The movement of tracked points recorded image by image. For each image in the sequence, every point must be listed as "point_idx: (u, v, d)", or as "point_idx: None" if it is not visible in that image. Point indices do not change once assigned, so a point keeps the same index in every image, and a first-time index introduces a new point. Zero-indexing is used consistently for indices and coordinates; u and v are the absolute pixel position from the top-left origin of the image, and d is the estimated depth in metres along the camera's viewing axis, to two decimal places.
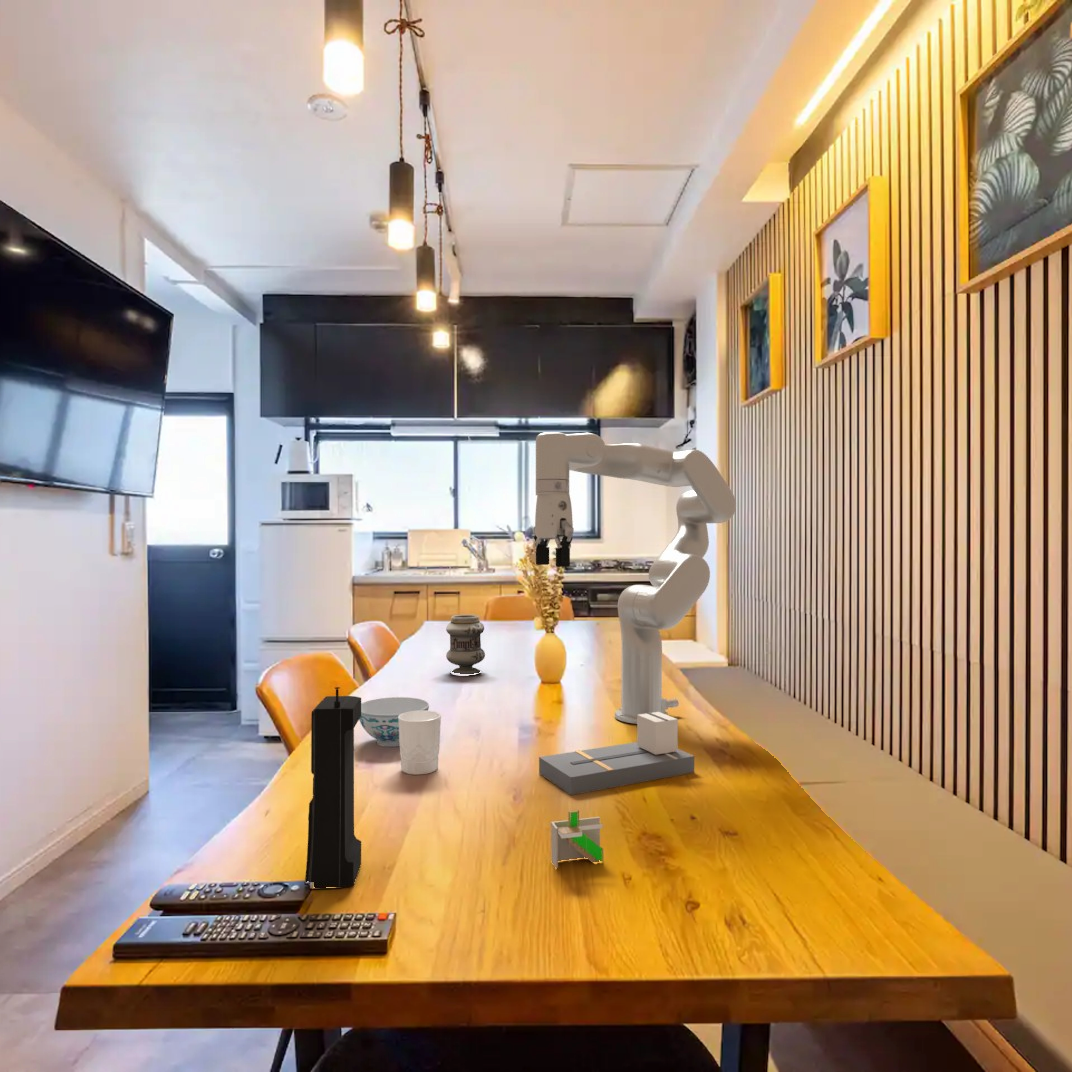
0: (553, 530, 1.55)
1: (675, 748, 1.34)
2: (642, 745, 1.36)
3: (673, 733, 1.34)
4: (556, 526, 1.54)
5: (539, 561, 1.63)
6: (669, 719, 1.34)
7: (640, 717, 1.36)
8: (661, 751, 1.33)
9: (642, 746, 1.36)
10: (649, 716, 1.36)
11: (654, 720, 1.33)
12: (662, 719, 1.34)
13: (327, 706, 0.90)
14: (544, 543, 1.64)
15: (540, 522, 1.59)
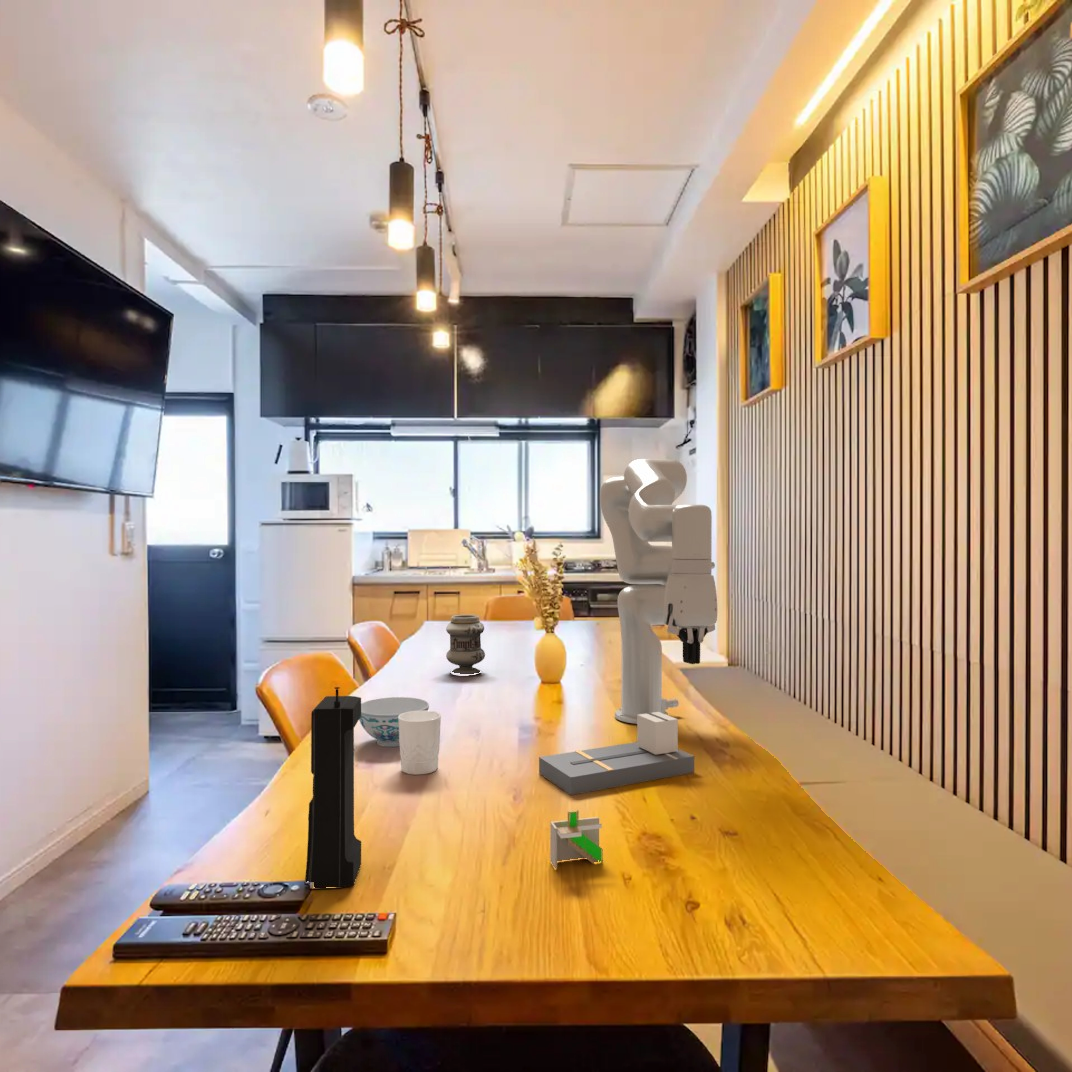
0: (716, 616, 1.39)
1: (675, 748, 1.34)
2: (642, 745, 1.36)
3: (673, 733, 1.34)
4: None
5: None
6: (669, 719, 1.34)
7: (640, 717, 1.36)
8: (661, 751, 1.33)
9: (642, 746, 1.36)
10: (649, 716, 1.36)
11: (654, 720, 1.33)
12: (662, 719, 1.34)
13: (327, 706, 0.90)
14: None
15: (694, 608, 1.36)
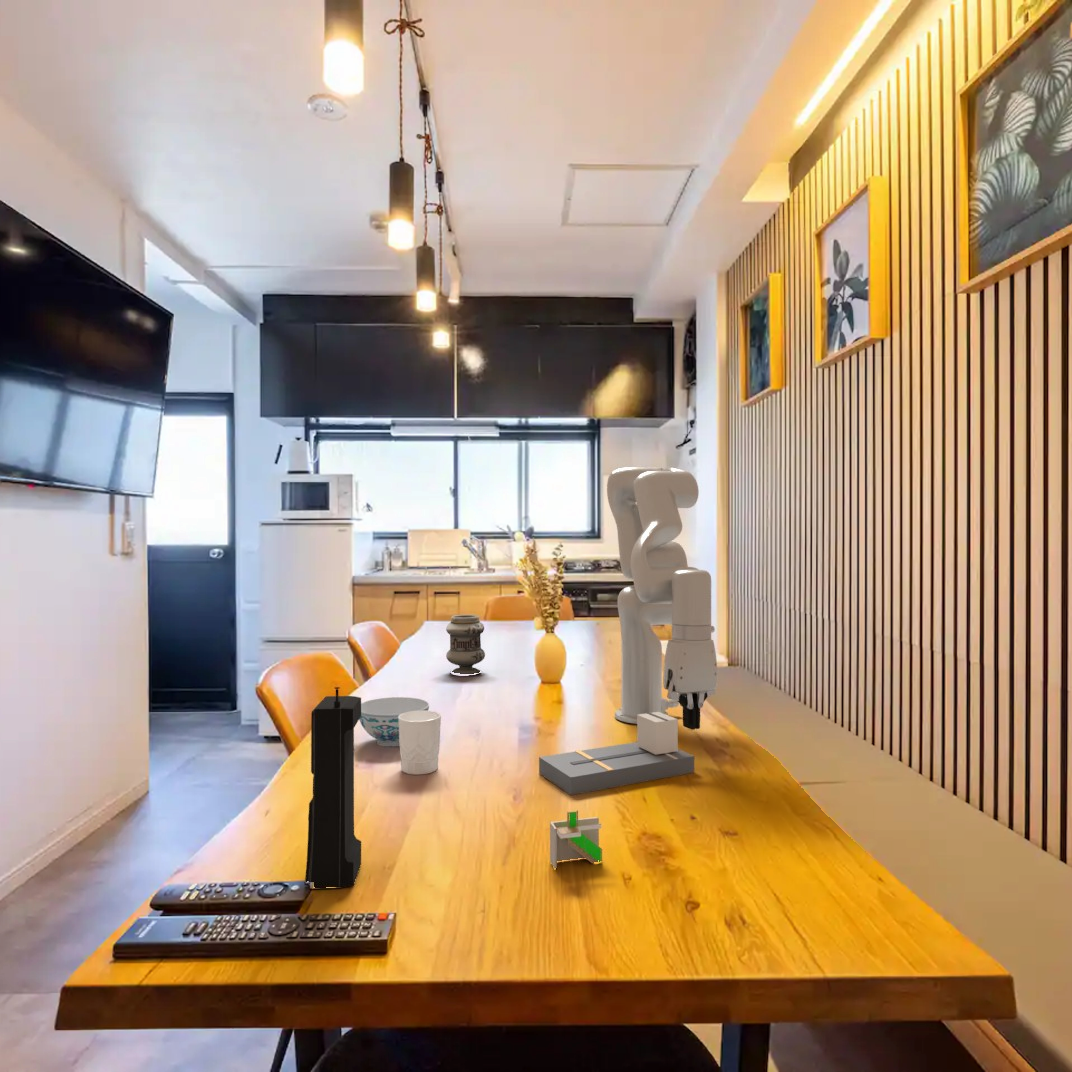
0: (716, 680, 1.39)
1: (675, 748, 1.34)
2: (642, 745, 1.36)
3: (673, 733, 1.34)
4: None
5: None
6: (669, 719, 1.34)
7: (640, 717, 1.36)
8: (661, 751, 1.33)
9: (642, 746, 1.36)
10: (649, 716, 1.36)
11: (654, 720, 1.33)
12: (662, 719, 1.34)
13: (327, 706, 0.90)
14: None
15: (694, 674, 1.37)
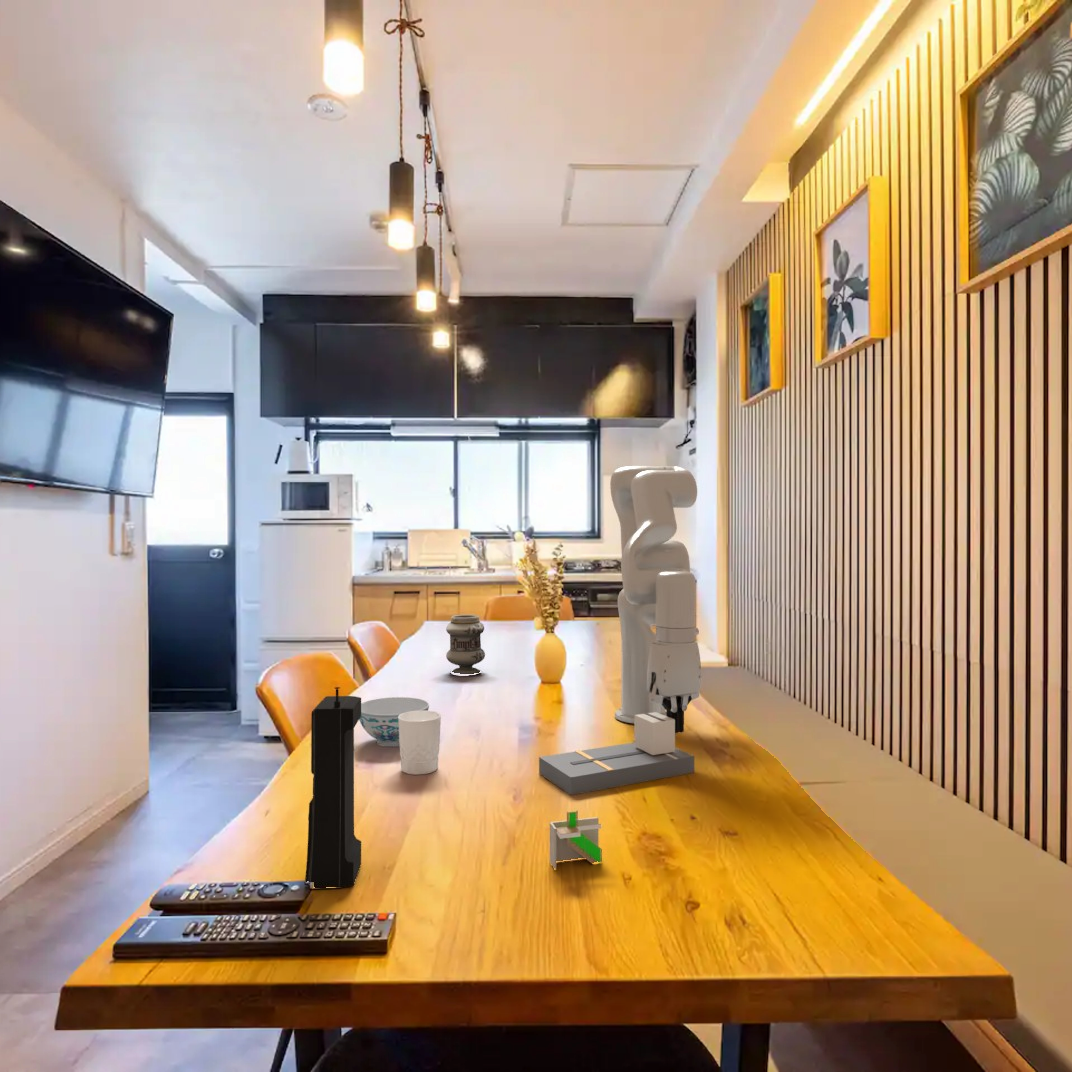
0: (700, 683, 1.38)
1: (672, 748, 1.34)
2: (639, 745, 1.36)
3: (670, 733, 1.34)
4: None
5: None
6: (666, 719, 1.34)
7: (637, 717, 1.36)
8: (658, 751, 1.32)
9: (639, 746, 1.36)
10: (646, 716, 1.36)
11: (651, 720, 1.33)
12: (659, 719, 1.33)
13: (327, 706, 0.90)
14: None
15: (678, 677, 1.35)
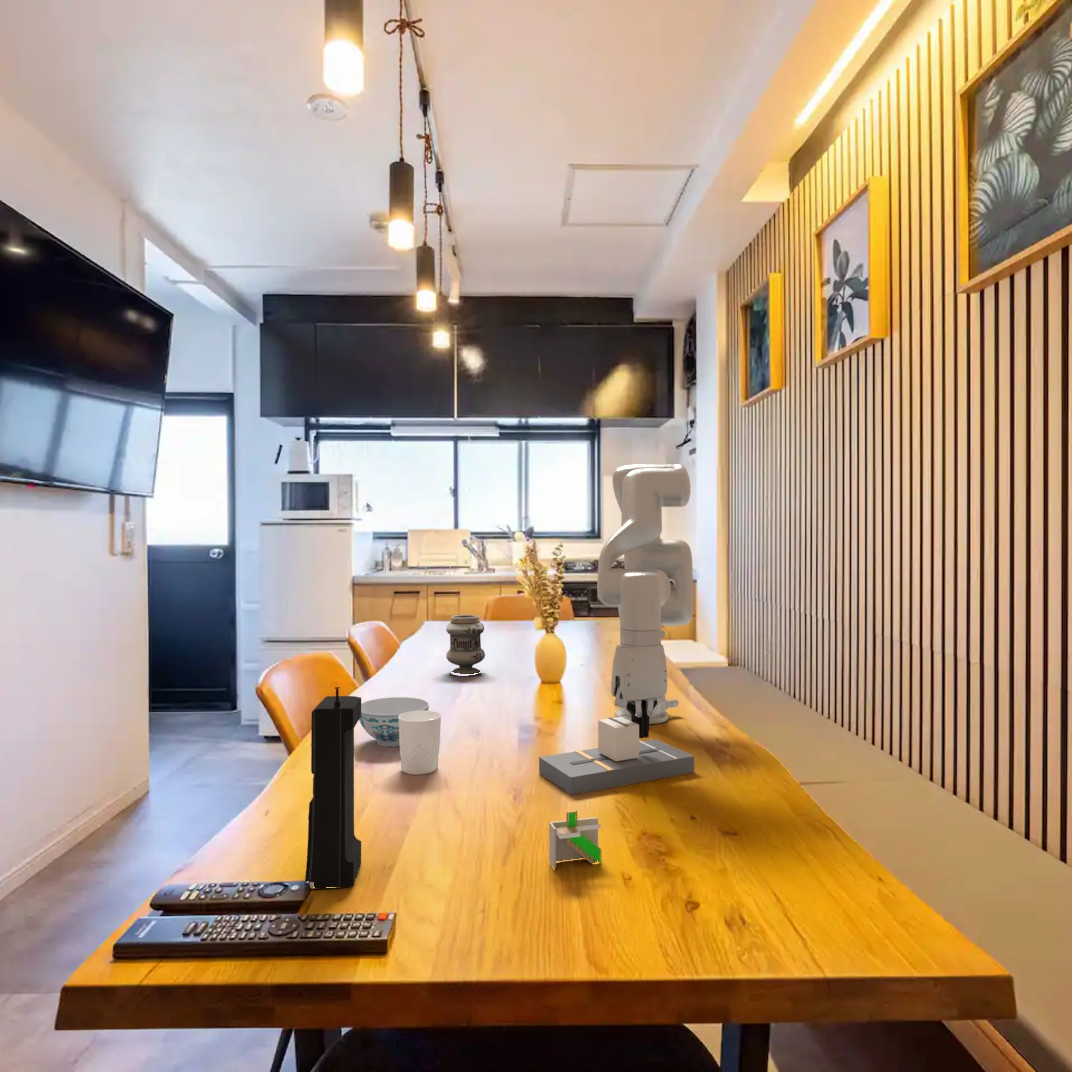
0: (666, 687, 1.34)
1: (636, 754, 1.30)
2: (603, 751, 1.32)
3: (634, 739, 1.30)
4: None
5: None
6: (630, 725, 1.30)
7: (601, 722, 1.33)
8: (621, 758, 1.29)
9: (603, 752, 1.32)
10: (610, 721, 1.32)
11: (614, 726, 1.29)
12: (623, 725, 1.30)
13: (327, 706, 0.90)
14: None
15: (642, 681, 1.31)
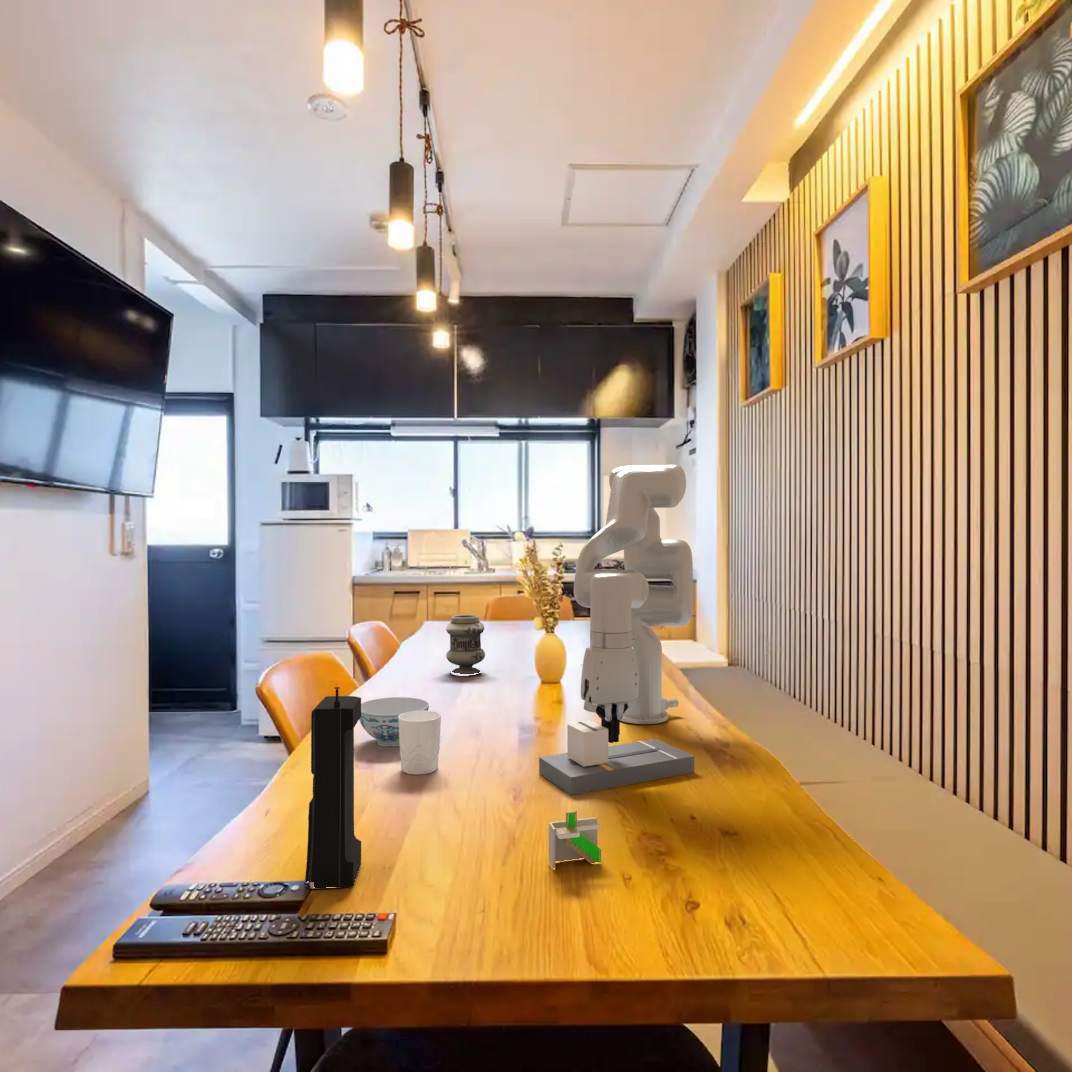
0: (636, 691, 1.31)
1: (605, 759, 1.27)
2: (572, 756, 1.29)
3: (603, 744, 1.27)
4: None
5: None
6: (599, 729, 1.27)
7: (570, 727, 1.30)
8: (590, 763, 1.26)
9: (572, 757, 1.29)
10: (579, 726, 1.29)
11: (583, 730, 1.27)
12: (592, 729, 1.27)
13: (327, 706, 0.90)
14: None
15: (612, 684, 1.28)
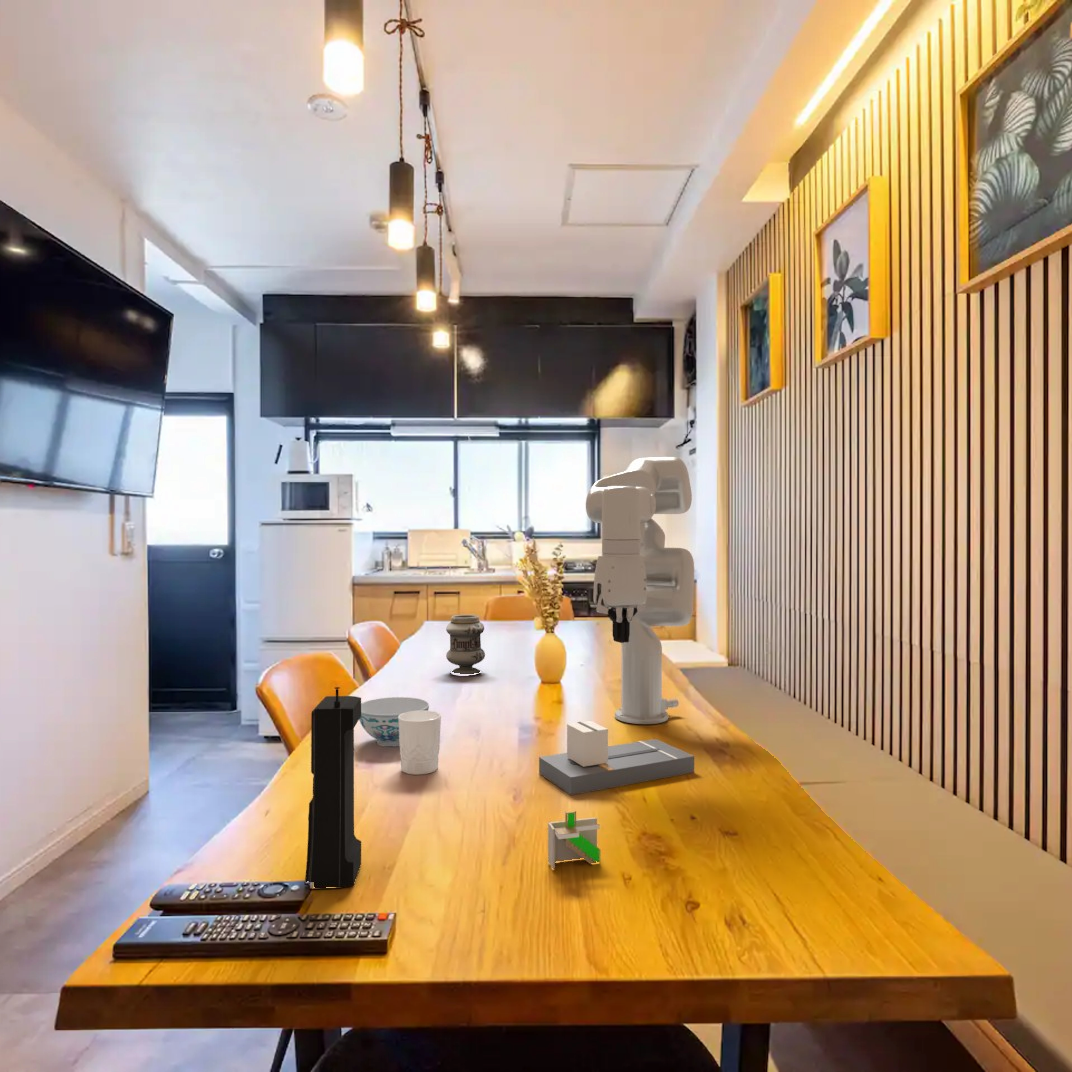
0: (645, 595, 1.42)
1: (605, 759, 1.27)
2: (571, 756, 1.29)
3: (603, 744, 1.27)
4: None
5: None
6: (599, 729, 1.27)
7: (569, 727, 1.30)
8: (589, 763, 1.26)
9: (571, 757, 1.29)
10: (579, 726, 1.29)
11: (582, 730, 1.26)
12: (591, 729, 1.27)
13: (327, 706, 0.90)
14: None
15: (622, 588, 1.39)
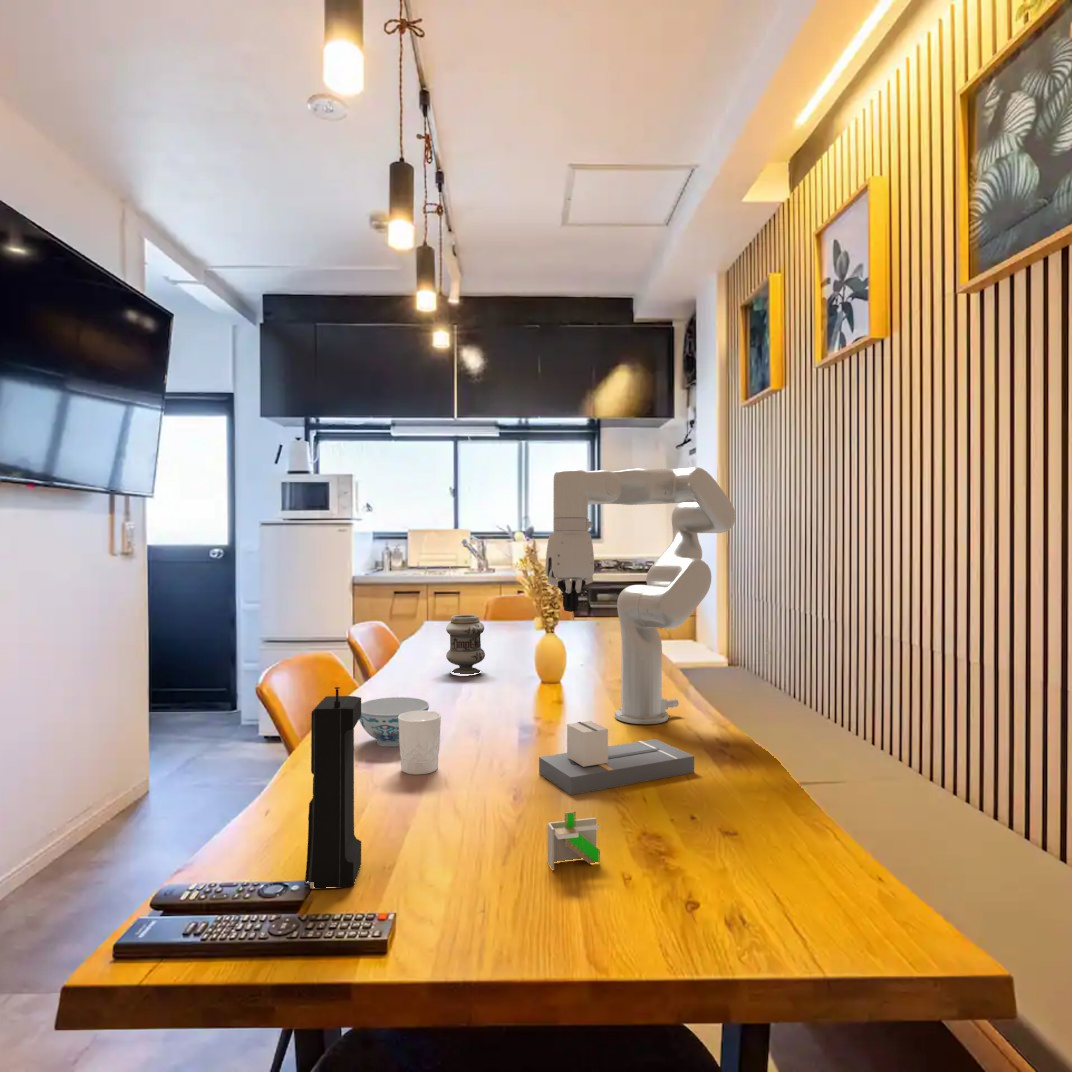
0: (592, 569, 1.56)
1: (605, 759, 1.27)
2: (571, 756, 1.29)
3: (603, 744, 1.27)
4: None
5: None
6: (599, 729, 1.27)
7: (569, 727, 1.30)
8: (589, 763, 1.26)
9: (571, 757, 1.29)
10: (579, 726, 1.29)
11: (582, 730, 1.26)
12: (591, 729, 1.27)
13: (327, 706, 0.90)
14: None
15: (571, 561, 1.53)
